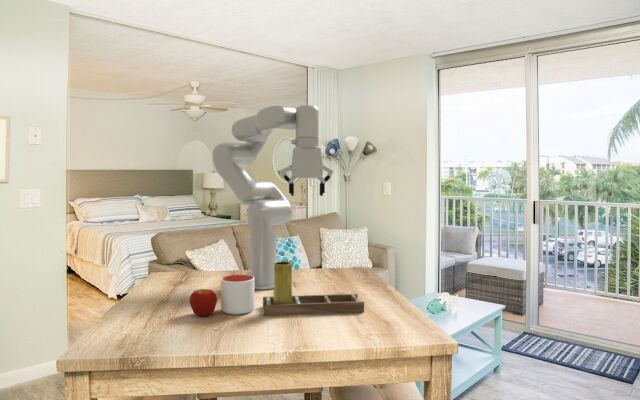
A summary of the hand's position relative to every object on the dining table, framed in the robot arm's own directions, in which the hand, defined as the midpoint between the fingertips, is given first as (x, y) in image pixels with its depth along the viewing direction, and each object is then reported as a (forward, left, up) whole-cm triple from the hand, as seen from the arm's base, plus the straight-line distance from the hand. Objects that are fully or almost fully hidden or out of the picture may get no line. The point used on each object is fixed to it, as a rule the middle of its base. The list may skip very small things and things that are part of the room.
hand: (306, 195), depth 155 cm
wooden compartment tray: (+10, -10, -34) cm, 37 cm away
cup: (-7, -25, -34) cm, 43 cm away
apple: (-12, -34, -34) cm, 50 cm away
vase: (+4, -16, -34) cm, 38 cm away
